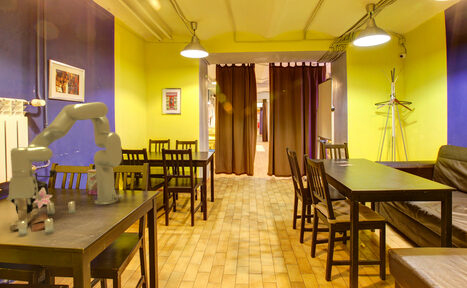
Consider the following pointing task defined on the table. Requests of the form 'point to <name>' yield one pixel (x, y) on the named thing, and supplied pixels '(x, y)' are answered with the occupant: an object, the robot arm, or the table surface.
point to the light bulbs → (48, 222)
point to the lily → (42, 198)
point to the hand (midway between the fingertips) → (24, 212)
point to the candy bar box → (92, 182)
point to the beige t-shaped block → (23, 213)
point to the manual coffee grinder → (44, 184)
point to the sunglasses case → (38, 223)
